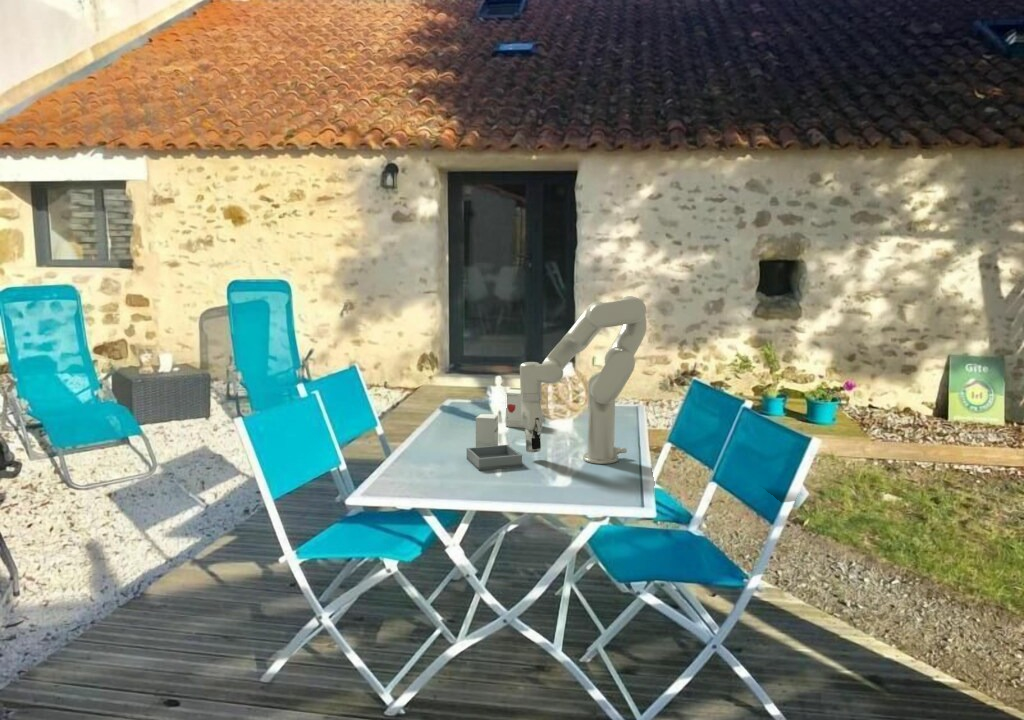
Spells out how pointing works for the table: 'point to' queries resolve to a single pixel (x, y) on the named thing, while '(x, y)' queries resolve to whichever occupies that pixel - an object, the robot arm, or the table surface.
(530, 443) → the tin can
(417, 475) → the table surface
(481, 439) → the supplement box
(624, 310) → the robot arm
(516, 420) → the supplement box
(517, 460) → the tray
